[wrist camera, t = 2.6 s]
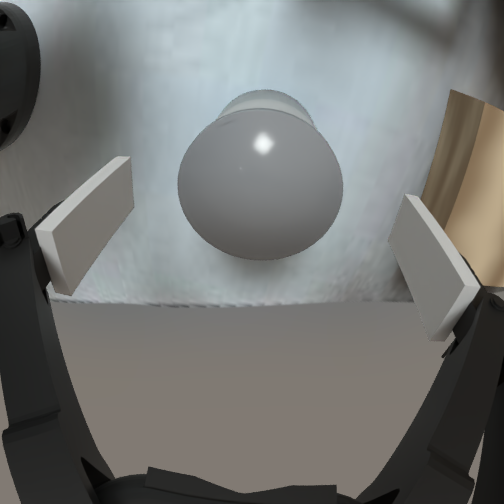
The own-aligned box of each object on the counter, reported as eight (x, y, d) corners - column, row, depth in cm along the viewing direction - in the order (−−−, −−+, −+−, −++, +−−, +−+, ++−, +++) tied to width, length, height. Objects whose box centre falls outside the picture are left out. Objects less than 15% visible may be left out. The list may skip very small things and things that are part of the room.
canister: (209, 179, 23) (178, 250, 16) (216, 81, 19) (179, 104, 12) (307, 191, 23) (322, 268, 16) (326, 95, 19) (360, 127, 12)
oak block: (402, 243, 26) (421, 280, 22) (448, 88, 18) (485, 102, 14) (504, 258, 26) (526, 288, 22) (552, 139, 18) (585, 161, 14)
